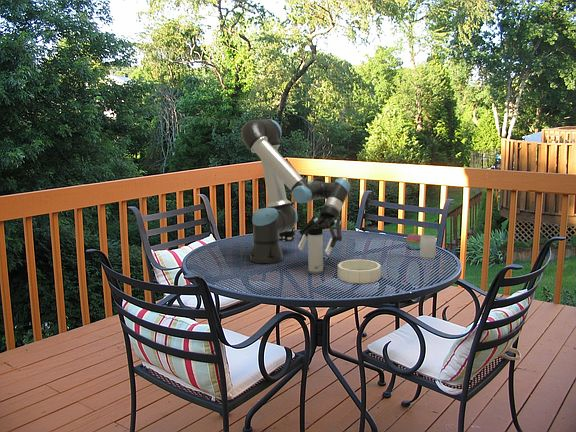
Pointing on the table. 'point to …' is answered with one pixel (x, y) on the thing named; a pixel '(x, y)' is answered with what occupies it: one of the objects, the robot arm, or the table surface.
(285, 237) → the white-spotted black cylinder
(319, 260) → the travel mug
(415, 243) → the cupcake
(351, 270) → the bowl
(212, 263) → the table surface
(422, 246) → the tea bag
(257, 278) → the table surface
